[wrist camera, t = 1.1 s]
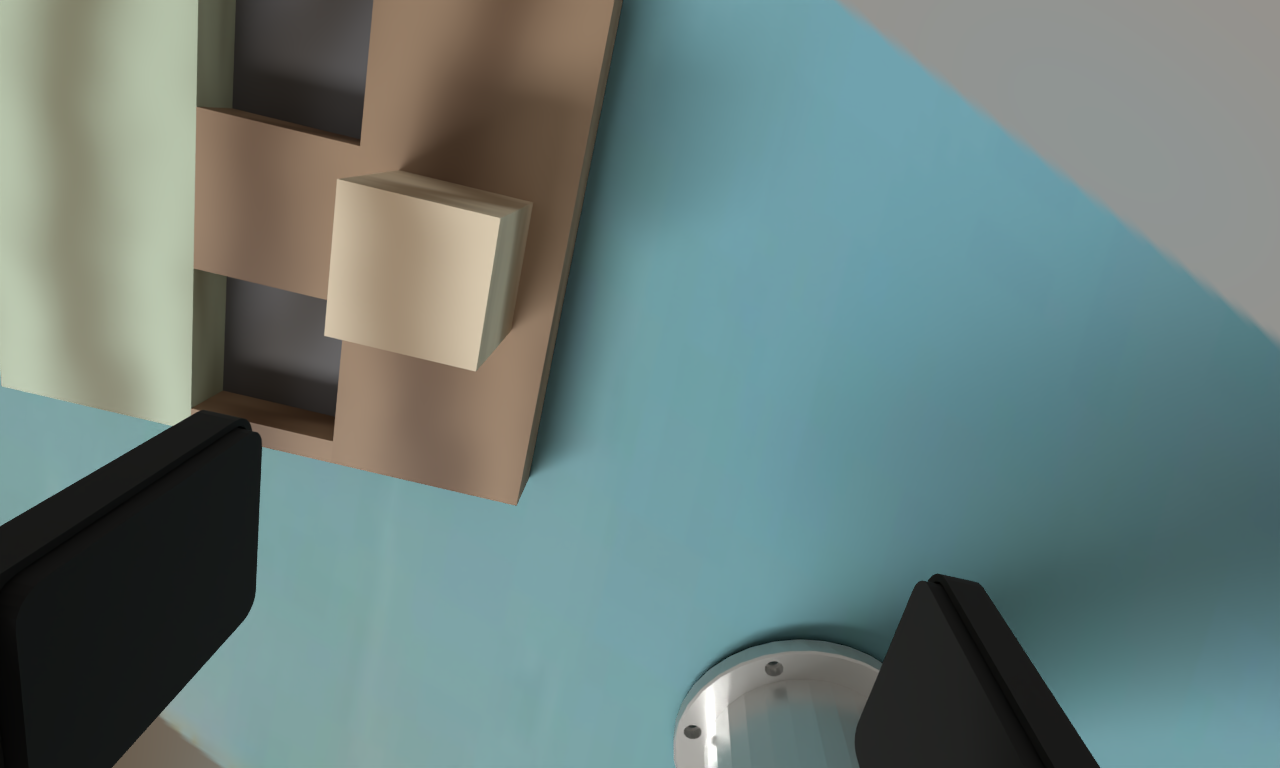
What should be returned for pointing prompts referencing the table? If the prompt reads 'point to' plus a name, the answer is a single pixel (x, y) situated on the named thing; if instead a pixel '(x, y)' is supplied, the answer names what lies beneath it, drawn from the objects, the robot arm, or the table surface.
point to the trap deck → (283, 210)
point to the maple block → (424, 266)
